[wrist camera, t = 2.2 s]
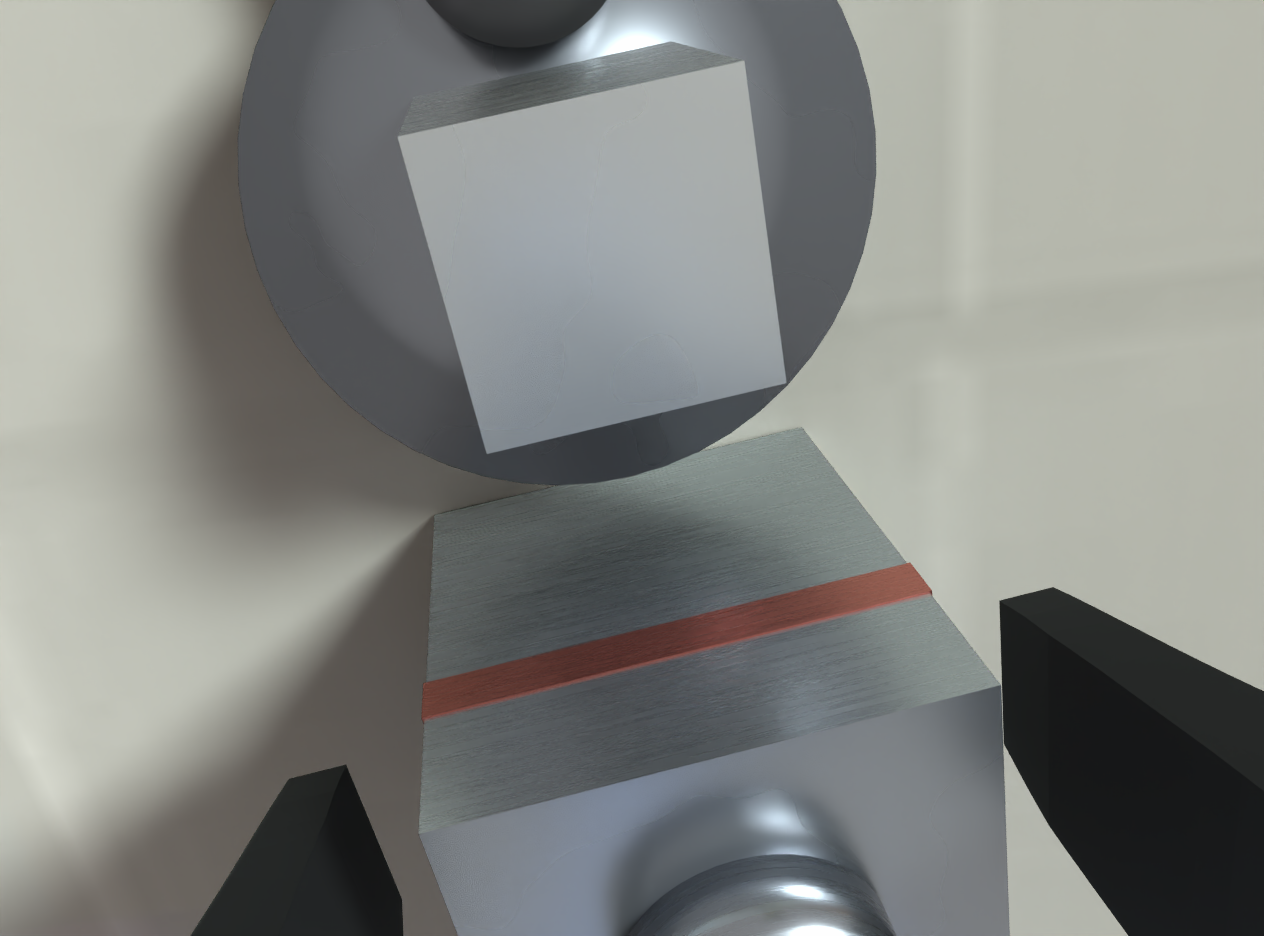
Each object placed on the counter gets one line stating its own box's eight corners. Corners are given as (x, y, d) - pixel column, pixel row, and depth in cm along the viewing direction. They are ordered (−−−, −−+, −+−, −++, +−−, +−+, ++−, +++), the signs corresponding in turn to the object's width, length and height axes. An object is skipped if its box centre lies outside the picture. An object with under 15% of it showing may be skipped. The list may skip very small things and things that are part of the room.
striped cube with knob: (839, 716, 15) (1058, 1138, 9) (522, 797, 14) (558, 1279, 9) (803, 425, 13) (1055, 751, 7) (431, 514, 12) (410, 918, 7)
